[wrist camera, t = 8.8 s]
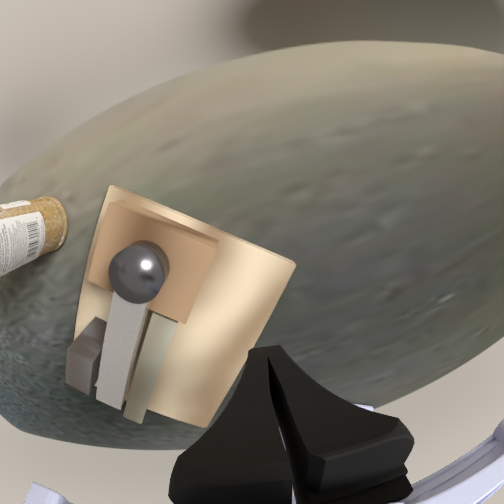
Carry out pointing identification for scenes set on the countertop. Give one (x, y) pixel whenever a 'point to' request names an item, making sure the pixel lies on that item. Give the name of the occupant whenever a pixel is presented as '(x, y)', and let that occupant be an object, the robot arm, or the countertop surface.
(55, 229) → the sprinkles bottle
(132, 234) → the wooden base plank
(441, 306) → the countertop surface
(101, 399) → the bar
